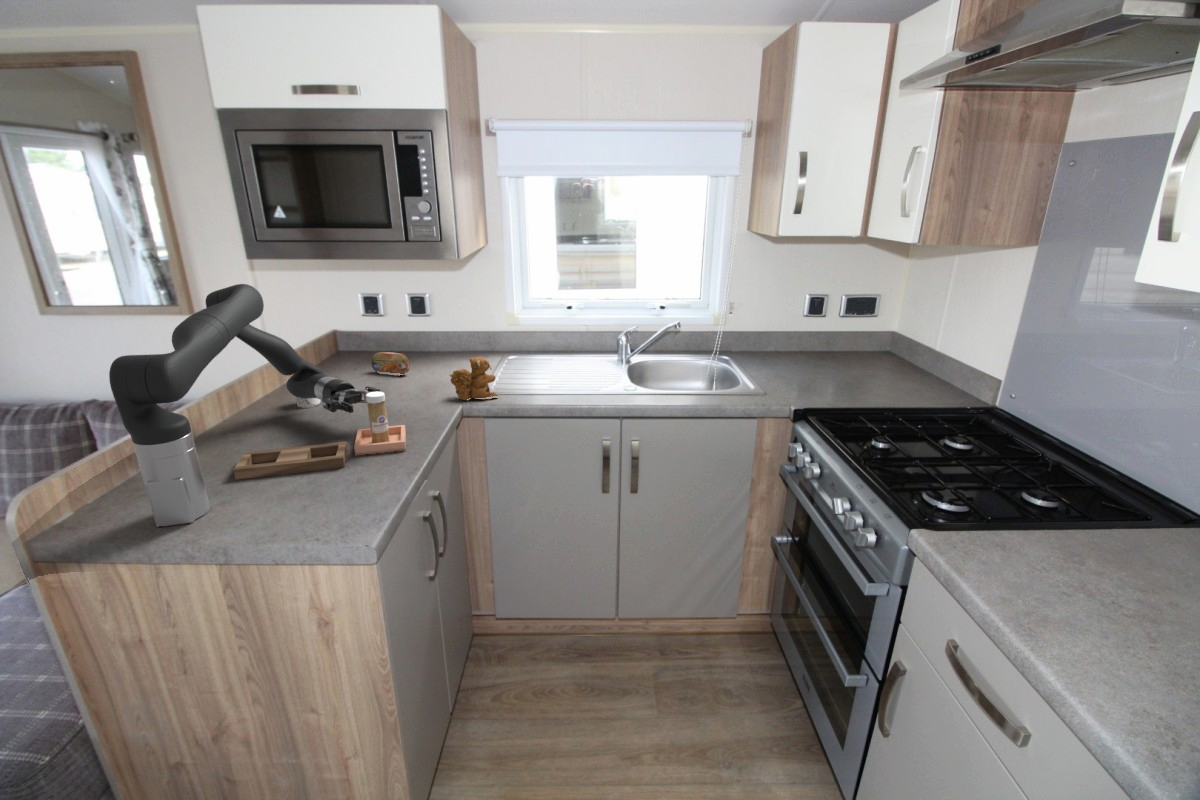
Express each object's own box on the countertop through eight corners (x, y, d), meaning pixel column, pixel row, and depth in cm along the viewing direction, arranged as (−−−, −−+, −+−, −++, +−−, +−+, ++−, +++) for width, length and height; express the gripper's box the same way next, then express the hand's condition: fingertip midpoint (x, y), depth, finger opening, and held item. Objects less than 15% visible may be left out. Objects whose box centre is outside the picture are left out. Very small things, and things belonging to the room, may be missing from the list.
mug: (311, 409, 174) (308, 388, 172) (292, 407, 175) (288, 386, 173) (332, 398, 183) (329, 379, 181) (314, 397, 184) (310, 377, 182)
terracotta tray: (405, 450, 146) (404, 441, 145) (355, 456, 142) (354, 446, 142) (405, 433, 157) (404, 424, 156) (359, 437, 153) (357, 429, 152)
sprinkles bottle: (380, 446, 146) (373, 397, 142) (368, 443, 149) (361, 394, 144) (394, 440, 150) (388, 392, 146) (382, 437, 152) (376, 389, 148)
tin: (372, 373, 210) (369, 351, 207) (377, 371, 213) (374, 349, 210) (407, 377, 206) (404, 355, 203) (412, 375, 209) (410, 353, 206)
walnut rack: (344, 467, 136) (343, 457, 136) (235, 479, 130) (233, 469, 129) (348, 450, 145) (347, 441, 145) (246, 461, 139) (244, 452, 138)
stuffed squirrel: (500, 398, 185) (498, 359, 181) (458, 405, 179) (455, 365, 174) (489, 390, 193) (487, 352, 189) (449, 396, 187) (446, 357, 182)
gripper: (307, 385, 152) (339, 398, 143) (356, 373, 162) (389, 384, 153) (311, 411, 154) (343, 425, 145) (360, 398, 165) (392, 410, 156)
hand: (367, 404), depth 149 cm, fingers open, 8 cm apart
